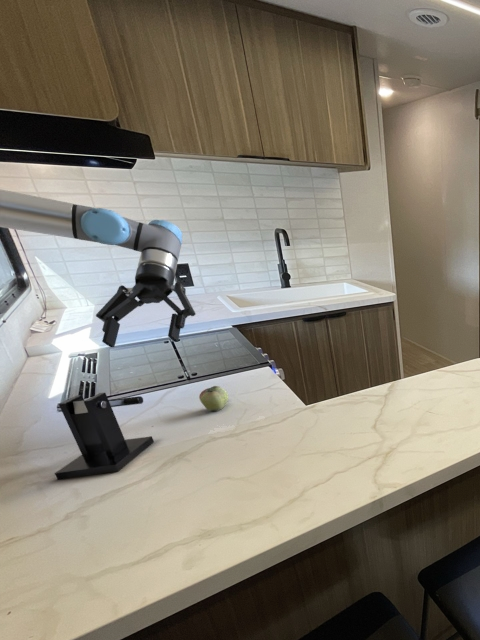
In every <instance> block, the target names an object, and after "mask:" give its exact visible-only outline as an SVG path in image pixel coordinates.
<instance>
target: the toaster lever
mask: <svg viewBox="0 0 480 640" xmlns="http://www.w3.org/2000/svg"><path fill="white" fill-rule="evenodd" d="M108 400H109V403H110V405H111V407H112V408H116V407H124V406H134V405H142V404H143V403H144V398H143V396H141V395H140V396H130V397H121V398H113V399H108ZM84 401H85V400H84ZM84 401H76V402H73V405H74V412H75V414H81V413H88V411H87V408H86V406H85V404H84Z"/></svg>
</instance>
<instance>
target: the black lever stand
mask: <svg viewBox="0 0 480 640" xmlns="http://www.w3.org/2000/svg"><path fill="white" fill-rule="evenodd" d="M109 400H110V399H109V398H108V395H107V393H106V392H98V393H97V394H95V395H93V396H91V397H89V398H87V399H84V396H83V395H82V394H78V395H75V396H73V397H70V398H68V399H66V400H64V401H62V402H60V403H59V404H58V406H59V408H60V411H61V413H62V415H63V417H64V419H65V421H66V423H67V425H68V428H69V430H70V432H71V434H72V437H73V439H74V441H75V443H76V445H77V447H78V449H79V452H80V453H81V455H79V456H78V457H76V458H75V459H74V460H72V461H70V462H69V463H67V464H66V465H65V466H63V467H61V468H60V469H59V470H57V471H55V472H54V476H55V478H56V480H57V481H60V480H68V479H74V478H82V477H91V476H97V475H103V474H105V475H106V474H111V473H118V472H120V471H121V470H122V469H123V468H125V467H126V466H127V465H128V464H129V463H131V462H132V461H133V460H134V459H136V458H137V457H138V456H140V454H142V453H143V452H144V451H145V450H146V449H148V448H149V447H150V446H152V445H153V444H154V443H155V441H154V439H153V436H143V437H136V438H128V439H125V437H124V433H123V431H122V430H121V429H122V428H121V427H120V425H119V422H118V420H117V417H116V415H115V412H114V410H113V407H111V405H110V403H109ZM76 401H84V404H85V406H86V408H87V411H88V413H81V414H75V412H74V405H73V402H76Z"/></svg>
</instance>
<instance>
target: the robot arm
mask: <svg viewBox="0 0 480 640" xmlns="http://www.w3.org/2000/svg"><path fill="white" fill-rule="evenodd" d="M0 228H4V229H11V230H17V231H23V232H28V233H36V234H42V235H48V236H56V237H61V238H68V239H74V240H81V241H85V242H92V243H99V244H102V245H107V246H117V247H120V248H125V249H128V250H132V251H135V252H139V253H140V256H139V258H138V259H139V260H138V262H137V267H136V272H135V275H134V283H135V284H134V285H133V286H132V287H126V286H125V285H120V286H118V288H117V291H116V292H115V293H114V295H113V296H112V297H111V298H110V299H109V300H108V301H107V302H106V303H105V304H104V306H102V307H101V309H100V310H99V311H98V312H97V313H95V317H96V318H98V320H101V322H103V325H102V328H101V330H102V332H103V333H104V334H103V337H102V340H101V342H102V343H103V344H105V345H106V346H107V347H109V348H115V345H116V342H117V339H118V334H119V330H120V326H121V324H120V323H119V321H122V319H123V318H125V317H126V316H127V315H129V314H130V313H132V312H133V311H134V310H135V309H137V308H138V307H143V306H144V305H145V304H146V305H147V304H160V303H161V302H165V303H166V304H167V305H168V307H170V308H171V309H172V310H173V311H174V312H175V313H172V314H171V317H170V318H171V319H170V324H169V328H168V333H167V337H168V338H169V339H170V340H172V341H173V342H174V343H178V342H179V339H180V333H181V329H185V324H186V320H187V318H188V317H190V316H191V317H194V316H196V312H195V310H194V307H193V305H192V304H191V302H190V300H189V298H188V297H187V293H186V287H185V286H184V285H183V284H182V283H181V282H179V281H176V282H175V279H176V277H175V276H176V272H177V268H178V262H179V257H180V253H181V248H182V244H183V243H182V242H183V233H182V231H181V229H180V228H179V227H178V226H177V225H175V224H174V223H172V222H170V221H168V220H164V219H160V220H159V219H153V220H150V221H149V223H144V222H140V221H137V220H133V219H131V218H127V217H125V216H122V215H121V214H119V213H118V212H115V210H111V209H107V208H102V207H91V206H87V205H81V204H75V203H71V202H67V201H61V200H56V199H51V198H47V197H41V196H36V195H32V194H31V195H30V194H27V193H20V192H16V191H11V190H5V189H0ZM173 292H174V293H175V294H176V296H177V298H178V300H179V301H180V303H181V305H182V307H183V309H181V308H180V307H179V306H178V305H177V304H176V303H175V302H174V301H172V299H170V297H169V296H170V295H171V294H172V293H173ZM136 298H137V299H138V300H137V299H136Z"/></svg>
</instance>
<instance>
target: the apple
mask: <svg viewBox="0 0 480 640" xmlns="http://www.w3.org/2000/svg"><path fill="white" fill-rule="evenodd" d="M228 393H229V392H228V391H226V389H224V388H223V387H221V386H219V385H213V386H211V387H208V388H205V389H203V391H200V393H199V396H198V398H199V401H200V402H201V404H202V405H203V407H204V408H205V409H206V410H207V411H210V412H212V411H213V412H214V411H218V412H219V411H221V410H222V409H223V408H224V407H225V406H226V405H227V403H228V400H229V394H228Z"/></svg>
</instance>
